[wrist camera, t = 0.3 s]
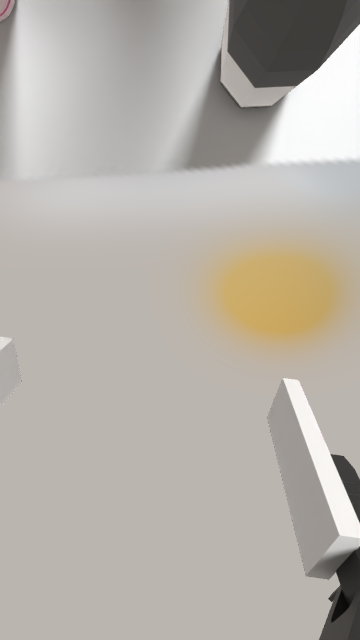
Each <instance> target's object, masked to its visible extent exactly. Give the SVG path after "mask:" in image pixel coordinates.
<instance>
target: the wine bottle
mask: <svg viewBox="0 0 360 640" xmlns="http://www.w3.org/2000/svg"><path fill="white" fill-rule="evenodd" d="M359 24H360V0H228V5H227V12H226V18H225V24H224V31H223V37H222V52H221V82H220V83H221V85H222V86H223V87H224V88H225V90H226V91H227V92H228V94H229V95H230V96H231V97H232V99H233V100H234V101H235V102H236V104H237V105H238V106H239V107H240V108H251V107H270V106H272V105H273V104H274V103H276V102H277V101H278V100H279V99H281V98H282V97H283V96H285V95H286V94H287V93H288V92H290V91H291V90H292V89H293V88H295V87H296V86H297V85H299V84H300V83H301V82H302V81H304V80H305V79H306V78H308V77H309V76H310V75H311V74H313V73H314V72H315V71H317V70H318V69H319V68H320V66H321V65H322V64H323V63H324V62H325V61H326V60H327V59H328V58H329V57H330V56H331V55H332V53H333V52H334V51H335V50H336V49H337V48H338V47H339V46H340V45H341V44H342V43H343V41H344V40H345V39H346V38H347V37H348V36H349V35H350V34H351V33H352V32H353V31H354V29H355V28H356V27H357V26H358V25H359Z"/></svg>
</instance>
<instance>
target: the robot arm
mask: <svg viewBox="0 0 360 640" xmlns="http://www.w3.org/2000/svg"><path fill="white" fill-rule="evenodd" d="M21 382H22V380H21V375H20V370H19V365H18V360H17V355H16V349H15V345H14V339H13V338H6V337H0V408H1V407H2V405H3V404H4V403H5V402H6V400H7V399H8V398H9V397H10V395H11V394H12V393H13V392H14V391H15V389H16V388H17V387H18V386H19V384H20V383H21ZM267 419H268V424H269V427H270V432H271V436H272V440H273V444H274V448H275V452H276V456H277V460H278V464H279V468H280V473H281V477H282V481H283V484H284V489H285V493H286V497H287V501H288V505H289V509H290V513H291V517H292V521H293V526H294V529H295V534H296V538H297V542H298V546H299V550H300V554H301V558H302V562H303V566H304V571H305V575H306V576H309V577H315V578H323V579H330V578H331V577H332V576H333V575H334V573H335V572H336V573H337V576H338V579H339V582H340V586H339V587H338V588H337V589H336V590H335V591H334V592H333V593H332V594H331V596H330V597H329V600H330V601H331V602H332V601H333V600H334V601H333V604H332V606H331V609H330V612H329V614H328V617H327V620H326V623H325V625H324V628H323V631H322V634H321V636H320V639H319V640H360V479H359V477H358V475H357V473H356V471H355V469H354V468H353V467H352V466H351V464H350V463H349V462H348V461H347V460H346V459H345V457H344V456H340V455H332V454H330V453H329V450H328V448H327V446H326V443H325V441H324V439H323V436H322V434H321V432H320V429H319V427H318V425H317V422H316V420H315V418H314V415H313V413H312V411H311V408H310V406H309V404H308V401H307V399H306V397H305V394H304V392H303V390H302V387H301V385H300V382H299V380H293V379H286V378H283V379H282V381H281V384H280V386H279V389H278V391H277V394H276V397H275V399H274V401H273V404H272V407H271V409H270V411H269V414H268V416H267Z"/></svg>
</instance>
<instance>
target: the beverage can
mask: <svg viewBox="0 0 360 640" xmlns="http://www.w3.org/2000/svg"><path fill="white" fill-rule="evenodd" d="M14 4H15V0H0V21H3V20H4V19H6V18H7V17H8V16H9V15H10V13H11V12H12V9H13V7H14Z"/></svg>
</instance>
